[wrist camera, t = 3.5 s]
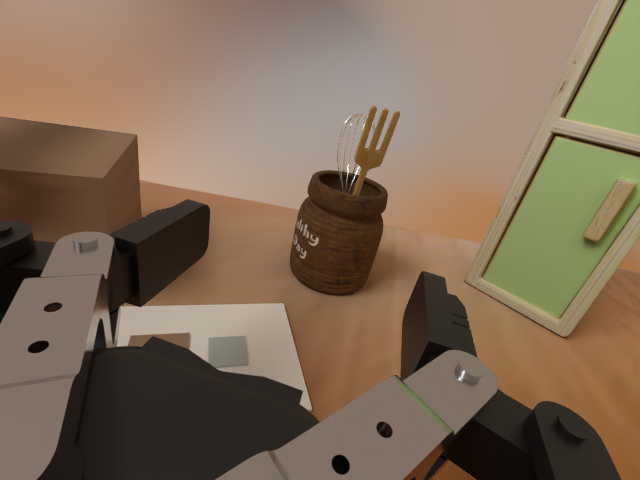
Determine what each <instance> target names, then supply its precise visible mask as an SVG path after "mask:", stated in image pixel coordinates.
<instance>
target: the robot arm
mask: <svg viewBox="0 0 640 480" xmlns="http://www.w3.org/2000/svg"><path fill="white" fill-rule="evenodd" d="M209 221H210V209H209V206H208V205H205V204H202V203H199V202H196V201H192V200H189V199H188V200H185V201H183V202H181V203H179V204H177V205H175V206H173V207H171V208H166V209H162V210H157V211H155V212H153V213H151V214H149V215H147V216H146V217H143V218H141V219H139V220H137V222H133V223H131V224H129V225H127V226H125V227H123V228H121V229H119V230H117V231H115V232H112V233H110V234H108V235H107V234H105V233H101V232H78V233H73V234H70V235H67V236H65V237H62V238H61V239H59V240H58V241H57V242H56V243H54V242H45V241H36V240H34V237H33V233H32V229H31V227H30V226H29V225H28V224H25V223H22V222H17V221H0V480H432V479H433V478H434V477H435V476H436V475H437V473H438V472H439V471H440V470H441V469H442V468H443V467H444V466H445V465H446V464H447V463H448V461H449V460H450V461H452V462H453V463H454V464H456V465H457V466H459V467H460V468H461V469H463V470H464V471H466V472H467V473H468V474H470V475H471V476H473V477H474V478H476V479H477V480H621V478H620V476H619V474H618V472H617V470H616V468H615V466H614V464H613V462H612V459H611V457H610V455H609V453H608V451H607V449H606V447H605V445H604V443H603V441H602V439H601V438H600V436H599V435H598V434H597V432H596V431H595V430H594V429H593V428H592V427H591V426H590V425H589V424H588V423H587V422H586V421H585V420H584V419H583V418H582V417H580V416H579V415H578V414H576V413H575V412H573V411H572V410H570V409H568V408H567V407H565V406H562V405H560V404H558V403H554V402H550V401H543V402H540V403H538V404H537V405H536V407H535V408H534V409H533V410H531V409H530V408H528V407H526V406H524V405H523V404H521V403H519V402H518V401H516V400H514V399H512V398H511V397H509V396H507V395H506V394H504V393H503V392H501V391H500V390H499V389H498V383H497V380H496V377H495V375H494V374H493V372H492V371H491V370H490V368H489V367H488V366H487V365H486V364H484V363H483V362H482V361H481V360H479V359H478V358H477V354H476V350H475V346H474V342H473V338H472V334H471V330H470V329H469V328H470V326H469V322H468V320H467V314H466V310H465V307H464V305H463V304H462V303H461V301H460V300H459V299H458V298H457V296H455V295H451V294H448V293H447V287H446V281H445V278H444V277H441V276H438V275H435V274H431V273H428V272H425V271H422V272H421V274H420V275H419V278H418V280H417V282H416V285H415V287H414V290H413V292H412V294H411V297H410V299H409V302H408V304H407V306H406V309H405V313H404V317H403V322H402V349H401V378H399V377H398V376H397V375H394V376H391V377H389V378H388V379H386V380H385V381H383V382H381V383H380V384H378V385H377V386H375V387H374V388H372V389H371V390H369V391H368V392H366V393H364V394H363V395H361V396H360V397H358V398H357V399H355V400H354V401H352V402H351V403H349V404H348V405H346V406H344V407H343V408H341V409H340V410H338V411H337V412H335V413H334V414H332V415H331V416H329V417H327V418H326V419H324V420H323V421H321V422H319V421H318V419H317V418H316V417H315V416H314V415H313V414H312V413H310V412H309V411H308V410H307V409H306V408H304V407H303V406H301V405H300V401H301V397H302V394H303V391H302V390H299V389H297V388H294V387H291V386H288V385H286V384H283V383H280V382H277V381H275V380H272V379H269V378H267V377H262V376H255V375H247V374H239V373H231V372H224V371H220V370H218V369H216V368H215V367H213V366H212V365H211V364H209V363H208V362H206V361H205V360H203V359H202V358H201V357H199V356H198V355H196V354H195V353H193V352H192V351H190V350H189V349H187V348H185V347H182V346H179V345H176V344H174V343H171V342H168V341H165V340H163V339H160V338H157V337H154V336H152V337H151V338H150V339H149V340H148V341H147V342H146V343H145V344H144V345H143V346H142V347H139V346H120V347H117V342H118V334H119V326H120V317H121V308H120V306H121V305H122V304H123V303H125V302H127V303H129V304H132V305H135V306H138V307H142V306H143V305H144V304H146V303H147V302H148V301H149V300H150V299H152V298H153V297H154V296H155V295H156V294H158V293H159V292H160V291H161V290H163V289H164V288H165V287H166V286H167V285H169V284H170V283H171V282H172V281H173V280H175V279H176V278H177V277H178V276H180V275H181V274H182V273H183V272H184V271H186V270H187V269H188V268H189V267H190V266H192V265H193V264H194V263H195V262H197V261H198V260H199V259H200V258H201V257H202V256H203V255H204V253H205V252H206V249H207V246H208V240H209Z"/></svg>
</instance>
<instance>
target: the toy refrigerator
mask: <svg viewBox="0 0 640 480" xmlns="http://www.w3.org/2000/svg"><path fill="white" fill-rule="evenodd" d="M639 238H640V0H598V1H597V3H596V6H595V8H594V10H593V12H592V14H591V16H590V18H589V20H588V22H587V24H586V27H585V28H584V31H583V33H582V35H581V37H580V39H579V41H578V43H577V45H576V47H575V49H574V51H573V54H572V56H571V58H570V60H569V62H568V64H567V66H566V68H565V70H564V72H563V74H562V77H561V79H560V81H559V83H558V85H557V87H556V89H555V91H554V93H553V96H552V98H551V100H550V102H549V104H548V106H547V108H546V110H545V112H544V115H543V117H542V119H541V121H540V123H539V125H538V127H537V129H536V131H535V133H534V135H533V137H532V139H531V141H530V144H529V146H528V148H527V150H526V152H525V154H524V156H523V158H522V160H521V162H520V164H519V166H518V168H517V171H516V173H515V175H514V177H513V179H512V181H511V183H510V185H509V187H508V189H507V191H506V194H505V195H504V198H503V200H502V202H501V204H500V206H499V208H498V210H497V212H496V215H495V217H494V219H493V221H492V223H491V225H490V227H489V229H488V231H487V233H486V235H485V238H484V240H483V242H482V244H481V246H480V248H479V250H478V252H477V254H476V257H475V259H474V261H473V263H472V265H471V267H470V269H469V271H468V274H467V276H466V278H465V282H467V283H468V284H470V285H471V286H473V287H475V288H477V289H479V290H480V291H482V292H484V293H486V294H487V295H489V296H491V297H493V298H494V299H496V300H498V301H500V302H502V303H503V304H505V305H507V306H509V307H511V308H512V309H514V310H516V311H518V312H519V313H521V314H523V315H525V316H527V317H528V318H530V319H532V320H534V321H535V322H537V323H539V324H541V325H542V326H544V327H546V328H548V329H549V330H551V331H553V332H555V333H556V334H558V335H560V336H562V337H567V336H569V335H570V334H571V332H572V331H573V330H574V328H575V327H576V326H577V324H578V323H579V322H580V320H581V319H582V317H583V316H584V315H585V313H586V312H587V310H588V309H589V308H590V306H591V305H592V303H593V302H594V301H595V299H596V298H597V296H598V295H599V294H600V292H601V291H602V289H603V288H604V287H605V285H606V284H607V282H608V281H609V280H610V278H611V277H612V275H613V274H614V273H615V271H616V270H617V269H618V267H619V266H620V265H621V263H622V262H623V260H624V259H625V258H626V256H627V255H628V253H629V252H630V251H631V249H632V247H633V246H634V245H635V244H636V242H637V241H638V240H639Z"/></svg>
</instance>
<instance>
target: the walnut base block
mask: <svg viewBox="0 0 640 480" xmlns="http://www.w3.org/2000/svg"><path fill="white" fill-rule="evenodd" d="M139 219H141V201H140V182H139V163H138V143H137V135H135V134H127V133H119V132H111V131H105V130H97V129H89V128H82V127H74V126H67V125H58V124H52V123H44V122H37V121H29V120H21V119H14V118H5V117H0V221H17V222H22V223H25V224H28V225H29V226H30V227H31V229H32V233H33V237H34V240H36V241H45V242H54V243H56V242H57V241H58V240H59V239H61V238H62V237H65V236H67V235H70V234H73V233H78V232H101V233H105V234H107V235H108V234H110V233H112V232H115V231H117V230H119V229H121V228H123V227H125V226H127V225H129V224H131V223H133V222H137V220H139Z"/></svg>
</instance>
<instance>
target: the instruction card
mask: <svg viewBox="0 0 640 480" xmlns="http://www.w3.org/2000/svg"><path fill="white" fill-rule="evenodd" d="M120 308H121V317H120V326H119V334H118V342H117V347H120V346H139V347H142V346H143V345H144V344H145V343H146V342H147V341H148V340H149V339H150V338H151V337H152V336H154V337H157V338H160V339H163V340H165V341H168V342H171V343H174V344H176V345H179V346H182V347H185V348H187V349H189V350H190V351H192V352H193V353H195V354H196V355H198V356H199V357H201V358H202V359H203V360H205V361H206V362H208V363H209V364H211V365H212V366H213V367H215V368H216V369H218V370H220V371H224V372H231V373H239V374H247V375H255V376H262V377H267V378H269V379H272V380H275V381H277V382H280V383H283V384H286V385H288V386H291V387H294V388H297V389H299V390H302V391H303V394H302V397H301V401H300V405H301V406H303V407H304V408H306V409H307V410H308V411H309V412H311V411H312V407H311V403H310V399H309V396H308V392H307V388H306V385H305V381H304V377H303V374H302V370H301V366H300V362H299V359H298V355H297V351H296V348H295V344H294V340H293V337H292V333H291V329H290V325H289V322H288V318H287V314H286V311H285V307H284V303H270V304H222V305H173V306H142V307H138V306H125V307H120Z"/></svg>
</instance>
